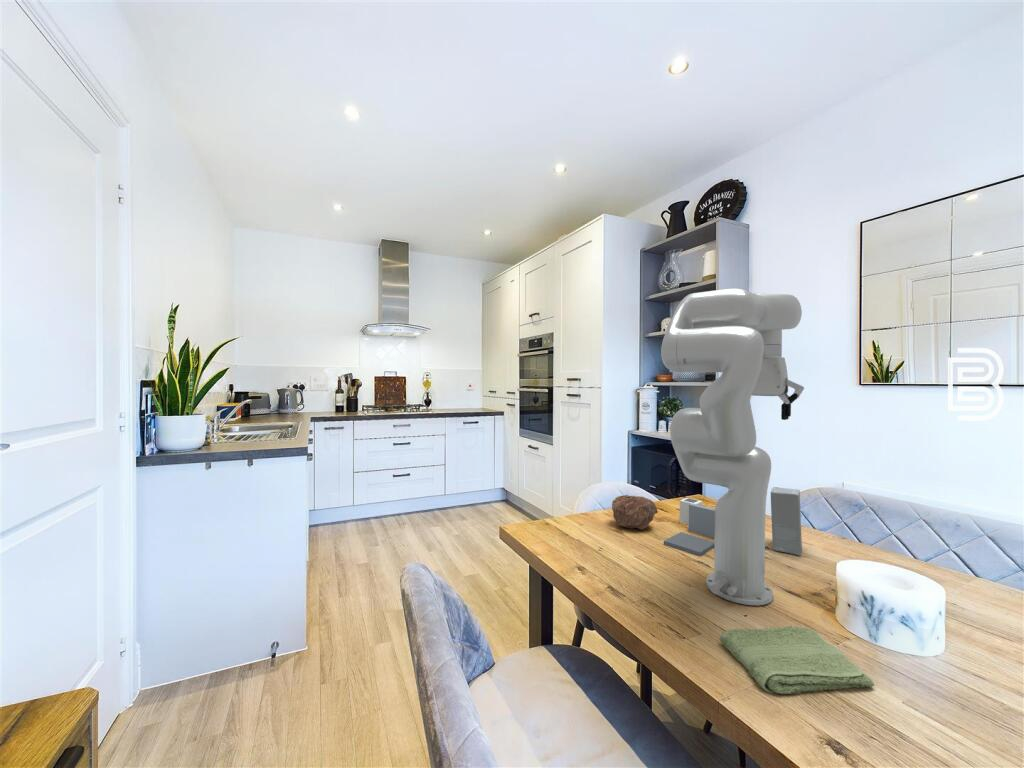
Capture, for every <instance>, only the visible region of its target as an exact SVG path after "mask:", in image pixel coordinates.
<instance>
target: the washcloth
mask: <svg viewBox="0 0 1024 768" xmlns="http://www.w3.org/2000/svg"><path fill="white" fill-rule="evenodd" d="M719 641H720V644H722V646H723V647H724V648H725V649H726V650H727V651H728V652H730V654H731V655H732V656H733V657H734V659H736V661H737V662H739V663H741V664H742V666H744V667H745V668H746V670H748V673H749V675H750V676H751V677H752V678H754V679H755V681H756V683H757V685H759V687H760V688H761V689H762V690H764V691H766V693H769V694H779V695H787V694H788V695H789V694H802V693H804V692H805V693H811V692H812V693H814V692H820V691H821V692H822V691H828V690H829V691H831V690H833V691H836V690H841V689H844V690H845V689H846V690H847V689H850V688H857V689H859V688H865V687H868V688H872V687H874V686H875V683H874V681H873V679H872V678H871V677H870V676H869V675H867V674H866V672H864V671H863V670H862V669H861V668H860V667H859V666H858V665H856V664H855V663H854V662H852V661H851V660H850V659H849V658H847V657H846V656H845V654H844V653H843V652H842V651H841V649H839V648H838V647H837V646H836V645H835V644H832V643H830V642H828V641H827V640H826V639H824V638H823V637H822V636H821V635H820V633H819V632H818V631H817V630H814V629H812V628H808V627H801V626H800V627H799V626H792V625H787V626H777V627H771V626H770V627H764V628H748V627H745V628H739V629H738V628H737V629H736V628H735V629H729V630H725V631H722V633H721V634H720V635H719Z"/></svg>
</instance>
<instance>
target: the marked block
mask: <svg viewBox="0 0 1024 768" xmlns="http://www.w3.org/2000/svg"><path fill="white" fill-rule="evenodd" d="M689 504H697V505H701V506H703V500H698V499H695V498H690V497H685V498H683V499H680V500H679V523H680V522H681V524H684V523H685V524H684V525H687V524H688V526H689Z"/></svg>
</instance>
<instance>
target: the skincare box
mask: <svg viewBox="0 0 1024 768" xmlns="http://www.w3.org/2000/svg"><path fill="white" fill-rule="evenodd" d="M801 514H802V513H801V490H800V489H798V488H796V489H795V488H785V487H776V486H773V487H772V488H771V490H770V516H771V533H772V535H771V536H772V539H771V540H772V541H771V542H772V550H773V551H776V552H783V553H787V554H791V555H796V556H799V557H801V556H802V554H803V553H802V552H803V542H802V541H803V540H802V539H803V538H802V522H801V521H802V520H801V519H802V518H801Z"/></svg>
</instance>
